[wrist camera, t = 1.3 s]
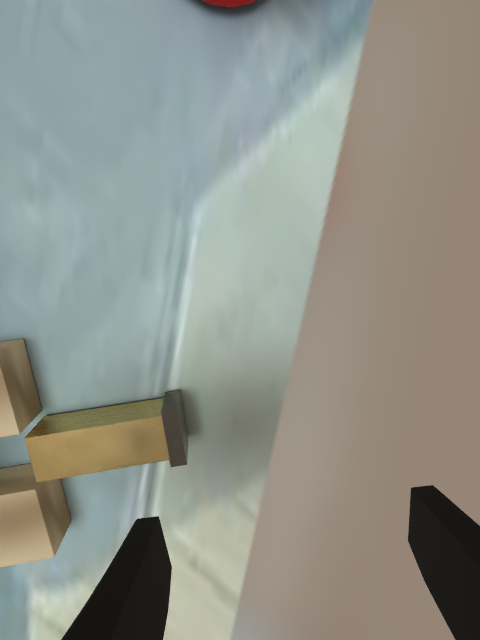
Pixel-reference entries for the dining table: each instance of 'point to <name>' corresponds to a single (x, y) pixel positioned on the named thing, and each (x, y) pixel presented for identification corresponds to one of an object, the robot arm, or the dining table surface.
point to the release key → (109, 438)
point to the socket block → (25, 471)
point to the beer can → (229, 2)
